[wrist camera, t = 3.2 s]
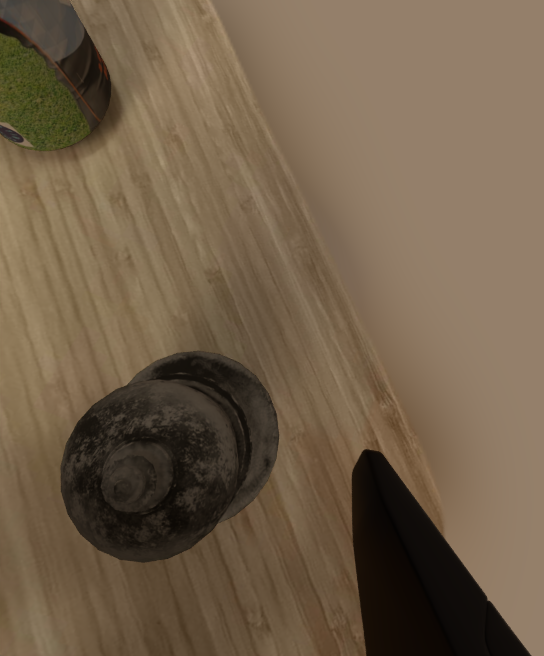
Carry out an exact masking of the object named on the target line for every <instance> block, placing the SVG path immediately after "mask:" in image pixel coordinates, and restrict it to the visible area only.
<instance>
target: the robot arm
mask: <svg viewBox="0 0 544 656" xmlns="http://www.w3.org/2000/svg"><path fill="white" fill-rule="evenodd" d="M352 531H353V547H354V556H355V564H356V573H357V581H358V589H359V597H360V606H361V614H362V622H363V631H364V639H365V647H366V655H367V656H531V655H530V653H529V652H528V651H527V649H526V648H525V647H524V646H523V644H522V643H521V642H520V640H519V639H518V638H517V636H516V635H515V634H514V632H513V631H512V630H511V628H510V627H509V626H508V624H507V623H506V622H505V620H504V619H503V618H502V616H501V615H500V614H499V612H498V611H497V610H496V608H495V607H494V605H493V604H492V603H491V602H490V601H487V596H486V595H485V593H484V592H483V591H482V589H481V588H480V587H479V585H478V584H477V582H476V581H475V580H474V578H473V577H472V576H471V574H470V573H469V571H468V570H467V569H466V567H465V566H464V565H463V563H462V562H461V561H460V559H459V558H458V556H457V555H456V554H455V553H454V551H453V550H452V548H451V547H450V546H449V544H448V543H447V541H446V540H445V539H444V537H443V536H442V535H441V533H440V532H439V530H438V529H437V528H436V526H435V525H434V524H433V522H432V521H431V520H430V518H429V517H428V515H427V514H426V513H425V511H424V510H423V509H422V507H421V506H420V505H419V503H418V502H417V500H416V499H415V498H414V496H413V495H412V494H411V492H410V491H409V489H408V488H407V487H406V485H405V484H404V483H403V481H402V480H401V479H400V477H399V476H398V474H397V473H396V472H395V470H394V469H393V468H392V466H391V465H390V464H389V462H388V461H387V459H386V458H385V457H384V455H383V454H382V453H381V452H379V451H374V450H369V449H365V450H363V452H362V453H361V455H360V457H359V459H358V461H357V463H356V465H355V467H354V469H353V472H352Z"/></svg>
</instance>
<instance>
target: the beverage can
mask: <svg viewBox="0 0 544 656" xmlns="http://www.w3.org/2000/svg"><path fill="white" fill-rule="evenodd" d="M110 97H111V81H110V75H109V72H108V70H107V67H106V65H105V63H104V61H103V59H102V58H101V56H100V54H99V52H98V50H97V49H96V47H95V45H94V43H93V42H92V40H91V38H90V36H89V34H88V33H87V31H86V29H85V27H84V26H83V24H82V22H81V20H80V19H79V17H78V15H77V13H76V11H75V10H74V8H73V6H72V4H71V3H70V1H69V0H0V134H1V135H3V136H4V137H5V138H6V139H8V140H9V141H10V142H12V143H14V144H16V145H18V146H20V147H23V148H27V149H30V150H38V151H52V150H57V149H62V148H65V147H68V146H70V145H73V144H75V143H77V142H78V141H80V140H82V139H84V138H85V137H86V136H87V135H89V134H90V133H91V132H92V131H93V130H94V129H95V128H96V127H97V125H98V124H99V123H100V121H101V120H102V118H103V117H104V115H105V113H106V110H107V108H108V106H109V101H110Z"/></svg>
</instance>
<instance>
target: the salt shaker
mask: <svg viewBox="0 0 544 656" xmlns="http://www.w3.org/2000/svg"><path fill="white" fill-rule="evenodd" d="M278 441H279V430H278V422H277V414H276V411H275V408H274V406H273V403H272V401H271V398H270V396H269V393H268V392H267V391H266V389H265V388H264V386H263V385H262V384H261V382H260V381H259V380H258V378H257V377H256V376H255V375H254V374H253V373H252V372H250V371H249V370H248V369H247V368H245V367H244V366H243V365H242V364H240V363H239V362H237V361H234V360H232V359H230V358H227V357H225V356H223V355H221V354H215V353H209V352H202V351H193V352H183V353H176V354H173V355H171V356H168V357H165V358H162V359H160V360H157V361H155V362H154V363H152V364H151V365H149V366H148V367H146V368H145V369H143V370H142V371H140V372H139V373H138V374H136V376H135V377H134V378H133V379H132V380H131V381H130V382H129V383H128V385H127V386H124V387H121V388H119V389H116V390H115V391H113V392H112V393H110V394H109V395H107V396H106V397H104V398H103V399H101V400H100V401H98V402H97V403H95V404H94V405H93V406H92V407H91V408H90V409H89V410H88V411H87V412H86V414H85V415H84V416H83V417H82V418H81V419H80V420H79V421H78V423H77V424H76V426H75V428H74V430H73V432H72V434H71V436H70V438H69V439H68V441H67V443H66V447H65V451H64V455H63V459H62V463H61V493H62V496H63V500H64V503H65V507H66V510H67V513H68V515H69V517H70V519H71V520H72V522H73V523H74V525H75V526H76V528H77V530H78V531H79V533H80V534H81V535H82V536H83V537H84V538H85V539H86V540H88V541H89V542H90V543H91V544H92V545H93V546H95V547H96V548H97V549H98V550H100V551H102V552H104V553H107V554H109V555H111V556H113V557H116V558H118V559H120V560H128V561H136V562H151V561H157V560H163V559H168V558H171V557H173V556H175V555H177V554H179V553H182V552H184V551H186V550H188V549H190V548H191V547H193V546H194V545H195V544H196V543H198V542H199V541H200V540H201V539H202V538H204V537H205V536H206V535H207V534H208V533H210V532H211V531H212V530H213V529H214V527H215V526H216V525H217V524H218V523H220V522H222V521H224V520H227V519H229V518H231V517H233V516H235V515H236V514H237V513H239V512H240V511H241V510H242V509H243V508H245V507H246V506H247V505H248V504H249V503H251V502H252V501H253V500H254V499H255V497H256V496H257V495H258V493H259V492H260V490H261V489H262V488H263V486H264V485H265V484H266V482H267V481H268V478H269V476H270V473H271V471H272V468H273V466H274V463H275V461H276V457H277V449H278Z"/></svg>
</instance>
